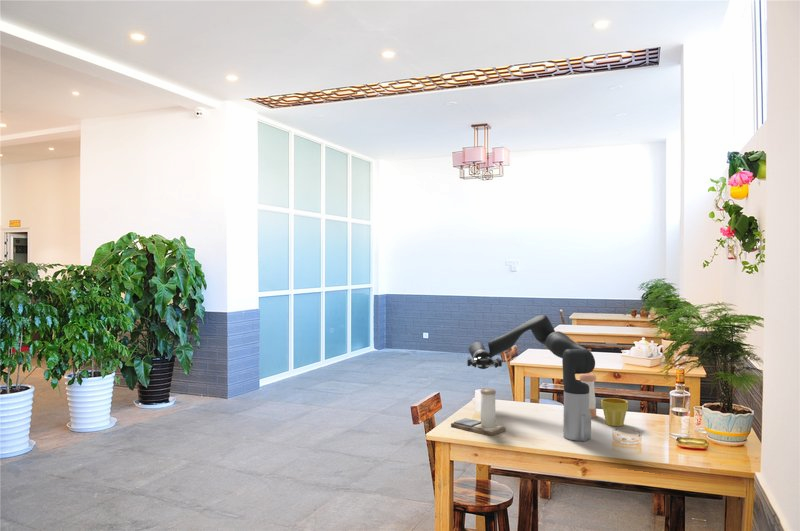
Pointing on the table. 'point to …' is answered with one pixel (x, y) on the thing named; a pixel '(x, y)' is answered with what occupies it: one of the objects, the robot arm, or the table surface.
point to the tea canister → (488, 408)
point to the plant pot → (614, 411)
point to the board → (477, 427)
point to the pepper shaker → (590, 391)
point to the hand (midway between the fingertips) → (485, 365)
